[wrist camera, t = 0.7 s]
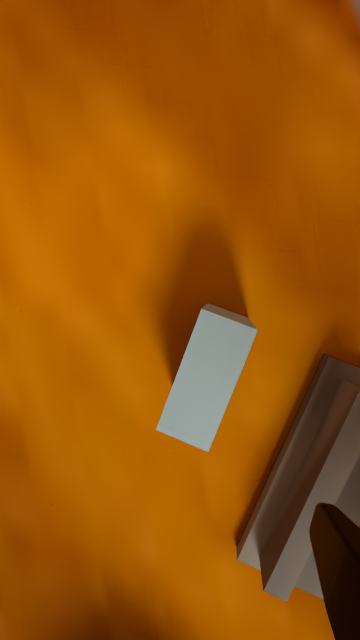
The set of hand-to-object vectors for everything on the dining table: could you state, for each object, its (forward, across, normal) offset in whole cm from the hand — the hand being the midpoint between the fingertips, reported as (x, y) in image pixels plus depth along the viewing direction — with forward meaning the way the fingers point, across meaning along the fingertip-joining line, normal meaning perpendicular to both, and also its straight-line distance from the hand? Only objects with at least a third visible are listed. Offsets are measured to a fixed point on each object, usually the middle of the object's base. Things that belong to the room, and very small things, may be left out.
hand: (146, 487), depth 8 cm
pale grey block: (+14, -2, +1) cm, 14 cm away
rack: (+12, -13, +8) cm, 19 cm away
